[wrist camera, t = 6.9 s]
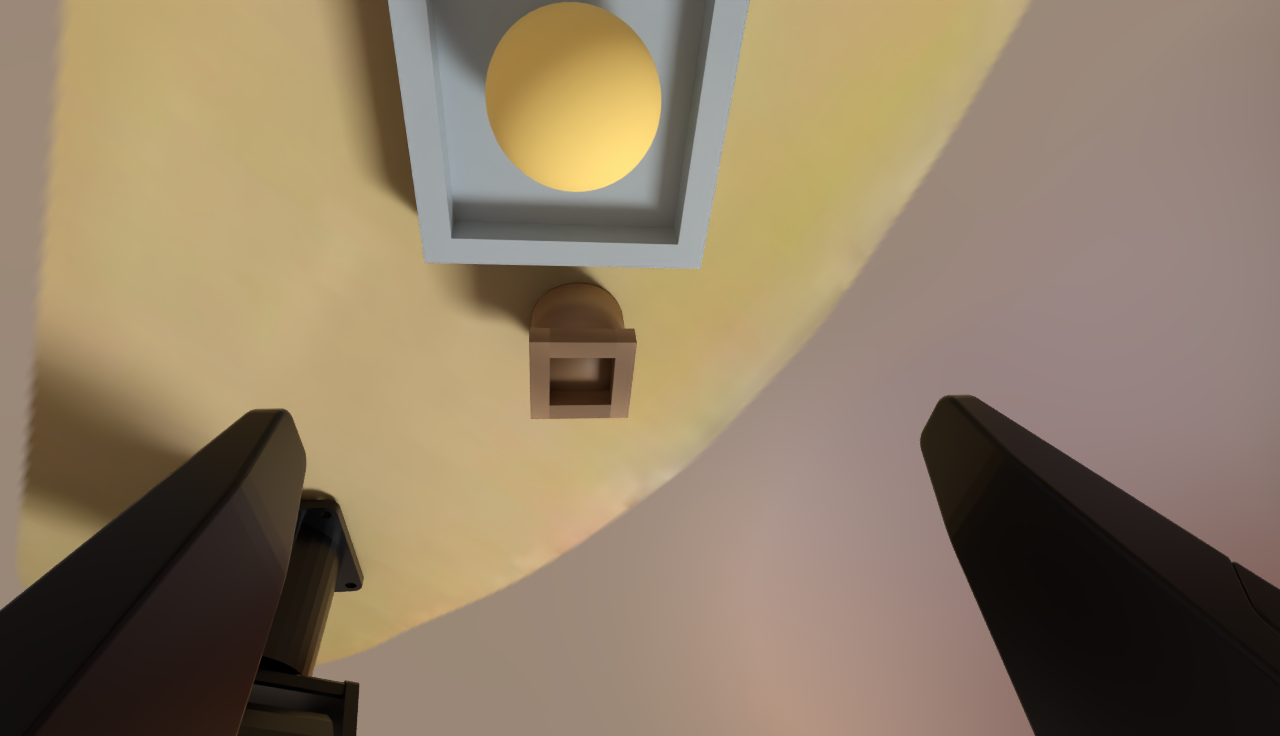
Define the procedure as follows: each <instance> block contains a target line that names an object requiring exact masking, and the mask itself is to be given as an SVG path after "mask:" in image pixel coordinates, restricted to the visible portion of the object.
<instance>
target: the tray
mask: <svg viewBox="0 0 1280 736" xmlns="http://www.w3.org/2000/svg"><path fill="white" fill-rule="evenodd" d="M749 1H750V0H388V5H389V12H390V19H391V26H392V33H393V40H394V48H395V55H396V62H397V69H398V76H399V83H400V90H401V97H402V104H403V112H404V119H405V126H406V133H407V140H408V147H409V154H410V161H411V169H412V176H413V183H414V190H415V197H416V204H417V211H418V218H419V225H420V233H421V240H422V247H423V254H424V261H425V263H454V264H500V265H547V266H593V267H640V268H686V269H701V264H702V258H703V253H704V247H705V242H706V236H707V231H708V225H709V220H710V214H711V209H712V203H713V198H714V193H715V187H716V182H717V176H718V171H719V165H720V160H721V154H722V149H723V143H724V138H725V132H726V127H727V121H728V116H729V110H730V105H731V100H732V94H733V89H734V83H735V78H736V72H737V67H738V61H739V56H740V50H741V45H742V39H743V34H744V28H745V23H746V17H747V12H748V7H749ZM561 2H579V3H586V4H590V5H594V6H597V7H600V8H602V9H604V10H607V11H609V12H611V13H613V14H614V15H616V16H617V17H619V18H620V19H622V20H623V21H624V22H625V23H626V24H628V25H629V26H630V27H631V28H632V29H633V30H634V32H635V33H636V34H637V35H638V36H639V37H640V38H641V40H642V41H643V43H644V44H645V46H646V47H647V49H648V51H649V53H650V55H651V57H652V59H653V61H654V64H655V67H656V70H657V73H658V77H659V82H660V87H661V114H660V119H659V125H658V128H657V132H656V135H655V137H654V139H653V142H652V144H651V146H650V148H649V149H648V151H647V152H646V154H645V156H644V157H643V158H642V160H641V161H640V162H639V164H638V165H637V166H636V167H635V168H634V169H633V170H632V171H631V172H630V173H628V174H627V175H626V176H624V177H623V178H622V179H620V180H618V181H616V182H615V183H613V184H610V185H608V186H606V187H603V188H600V189H596V190H591V191H585V192H570V191H562V190H557V189H553V188H550V187H547V186H544V185H542V184H540V183H538V182H536V181H534V180H533V179H531V178H530V177H528V176H527V175H525V174H524V173H523V172H522V171H521V170H519V169H518V168H517V167H516V166H515V165H514V164H513V163H512V162H511V161H510V160H509V159H508V157H507V156H506V155H505V153H504V152H503V150H502V149H501V147H500V145H499V144H498V142H497V140H496V138H495V136H494V133H493V131H492V128H491V126H490V123H489V119H488V115H487V109H486V101H485V84H486V77H487V71H488V68H489V64H490V61H491V58H492V56H493V54H494V51H495V49H496V47H497V45H498V44H499V42H500V40H501V39H502V37H503V36H504V35H505V33H506V32H507V31H508V30H509V29H510V27H511V26H513V25H514V24H515V23H516V22H517V21H518V20H519V19H521V18H522V17H524V16H525V15H527V14H528V13H530V12H532V11H534V10H536V9H538V8H540V7H543V6H547V5H550V4H554V3H561Z"/></svg>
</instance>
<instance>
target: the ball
mask: <svg viewBox="0 0 1280 736" xmlns="http://www.w3.org/2000/svg"><path fill="white" fill-rule="evenodd" d="M485 101H486V109H487V115H488V119H489V123H490V126H491V128H492V131H493V133H494V136H495V138H496V140H497V142H498V144H499V145H500V147H501V149H502V150H503V152H504V153H505V155H506V156H507V157H508V159H509V160H510V161H511V162H512V163H513V164H514V165H515V166H516V167H517V168H518V169H519V170H521V171H522V172H523V173H524V174H525V175H527V176H528V177H530V178H531V179H533V180H534V181H536V182H538V183H540V184H542V185H544V186H547V187H550V188H553V189H557V190H562V191H570V192H585V191H591V190H596V189H600V188H603V187H606V186H608V185H610V184H613V183H615V182H616V181H618V180H620V179H622V178H623V177H624V176H626V175H627V174H628V173H630V172H631V171H632V170H633V169H634V168H635V167H636V166H637V165H638V164H639V162H640V161H641V160H642V158H643V157H644V156H645V154H646V152H647V151H648V149H649V148H650V146H651V144H652V142H653V139H654V137H655V135H656V132H657V128H658V125H659V119H660V114H661V87H660V82H659V77H658V73H657V70H656V67H655V64H654V61H653V59H652V57H651V55H650V53H649V51H648V49H647V47H646V46H645V44H644V43H643V41H642V40H641V38H640V37H639V36H638V35H637V34H636V33H635V32H634V30H633V29H632V28H631V27H630V26H629V25H628V24H626V23H625V22H624V21H623V20H622V19H620V18H619V17H617V16H616V15H614V14H613V13H611V12H609V11H607V10H604V9H602V8H600V7H597V6H594V5H590V4H586V3H579V2H561V3H554V4H550V5H547V6H543V7H540V8H538V9H536V10H534V11H532V12H530V13H528V14H527V15H525V16H524V17H522V18H521V19H519V20H518V21H517V22H516V23H515V24H514V25H513V26H511V27H510V29H509V30H508V31H507V32H506V33H505V35H504V36H503V37H502V39H501V40H500V42H499V44H498V45H497V47H496V49H495V51H494V54H493V56H492V58H491V61H490V64H489V68H488V71H487V77H486V84H485Z"/></svg>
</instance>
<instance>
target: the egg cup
mask: <svg viewBox="0 0 1280 736" xmlns="http://www.w3.org/2000/svg"><path fill="white" fill-rule="evenodd" d="M636 345H637V341H636V336H635V330H634V329H625V328H624V322H623V315H622V311H621V308H620V306H619V304H618V302H617V301H616V299H615V298H614V297H613V296H612V295H611V294H609V293H608V292H607V291H605V290H603V289H602V288H599V287H597V286H594V285H590V284H584V283H572V284H566V285H562V286H559V287H557V288H554V289H552V290H550V291H549V292H547V293H546V294H545V295H544V296H543V297H541V299H540V300H539V301H538V302H537V304H536V305H535V307H534V310H533V313H532V319H531V328H530V332H529V355H530V404H531V419H569V418H628V412H629V404H630V396H631V387H632V379H633V370H634V362H635V353H636Z"/></svg>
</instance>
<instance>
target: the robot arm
mask: <svg viewBox="0 0 1280 736" xmlns="http://www.w3.org/2000/svg"><path fill="white" fill-rule="evenodd" d="M920 445H921V451H922V454H923V457H924V460H925V463H926V467H927V470H928V473H929V476H930V480H931V483H932V486H933V489H934V492H935V495H936V498H937V502H938V505H939V508H940V511H941V514H942V517H943V521H944V524H945V527H946V530H947V532H948V535H949V538H950V541H951V543H952V545H953V548H954V551H955V553H956V556H957V558H958V560H959V563H960V565H961V567H962V569H963V572H964V574H965V576H966V579H967V581H968V583H969V586H970V588H971V590H972V592H973V595H974V597H975V599H976V601H977V604H978V606H979V608H980V611H981V613H982V615H983V617H984V620H985V622H986V625H987V627H988V629H989V631H990V634H991V636H992V638H993V641H994V643H995V645H996V647H997V650H998V652H999V654H1000V656H1001V659H1002V661H1003V663H1004V666H1005V668H1006V670H1007V673H1008V675H1009V677H1010V679H1011V682H1012V684H1013V686H1014V689H1015V691H1016V693H1017V696H1018V698H1019V700H1020V702H1021V704H1022V707H1023V709H1024V712H1025V714H1026V716H1027V718H1028V721H1029V723H1030V725H1031V728H1032V730H1033V732H1034V735H1035V736H1280V589H1278V588H1277V587H1275V586H1274V585H1272V584H1270V583H1268V582H1267V581H1265V580H1264V579H1262V578H1261V577H1259V576H1258V575H1256V574H1255V573H1253V572H1251V571H1250V570H1248V569H1247V568H1245V567H1243V566H1242V565H1240V564H1239V563H1237V562H1231V560H1230V559H1229V557H1228V556H1226V555H1224V554H1223V553H1221V552H1220V551H1218V550H1216V549H1215V548H1213V547H1212V546H1210V545H1209V544H1207V543H1205V542H1204V541H1202V540H1201V539H1199V538H1197V537H1196V536H1194V535H1193V534H1191V533H1190V532H1188V531H1186V530H1185V529H1183V528H1182V527H1180V526H1178V525H1177V524H1175V523H1173V522H1172V521H1171V520H1169V519H1167V518H1166V517H1164V516H1163V515H1161V514H1160V513H1158V512H1156V511H1155V510H1153V509H1152V508H1150V507H1148V506H1147V505H1145V504H1144V503H1142V502H1141V501H1139V500H1137V499H1136V498H1134V497H1133V496H1131V495H1130V494H1128V493H1126V492H1125V491H1123V490H1122V489H1120V488H1118V487H1117V486H1115V485H1114V484H1112V483H1111V482H1109V481H1107V480H1106V479H1104V478H1103V477H1101V476H1099V475H1098V474H1096V473H1094V472H1093V471H1091V470H1090V469H1088V468H1087V467H1085V466H1084V465H1082V464H1081V463H1079V462H1077V461H1076V460H1074V459H1072V458H1071V457H1069V456H1068V455H1066V454H1065V453H1063V452H1062V451H1060V450H1058V449H1057V448H1055V447H1054V446H1052V445H1050V444H1049V443H1047V442H1046V441H1044V440H1042V439H1041V438H1039V437H1038V436H1036V435H1035V434H1033V433H1032V432H1030V431H1028V430H1027V429H1025V428H1024V427H1022V426H1020V425H1019V424H1017V423H1016V422H1014V421H1013V420H1011V419H1009V418H1008V417H1006V416H1005V415H1003V414H1001V413H1000V412H998V411H997V410H995V409H994V408H992V407H990V406H989V405H987V404H986V403H984V402H983V401H981V400H979V399H978V398H976V397H974V396H971V395H947V396H944V397H942V398H941V399H940V400H939V401H938V403H937V405H936V407H935V408H934V410H933V412H932V414H931V416H930V418H929V420H928V422H927V423H926V425H925V427H924V429H923V431H922V433H921V438H920ZM305 472H306V453H305V450H304V447H303V444H302V442H301V439H300V436H299V434H298V431H297V428H296V426H295V423H294V420H293V418H292V416H291V414H290V413H289V412H288V411H287V410H285V409H254V410H251V411H249V412H247V413H246V414H245V415H243V416H242V417H241V418H240V419H238V420H237V421H236V422H235V423H233V424H232V425H231V426H230V427H228V428H227V429H226V430H225V431H223V432H222V433H221V434H220V435H218V436H217V437H216V438H215V439H213V440H212V441H211V442H210V443H208V444H207V445H206V446H205V447H203V448H202V449H201V450H200V451H198V452H197V453H196V454H195V455H193V456H192V457H191V458H190V459H188V460H187V461H186V462H185V463H183V464H182V465H181V466H180V467H178V468H177V469H176V470H175V471H173V472H172V473H171V474H170V475H168V476H167V477H166V478H165V479H163V480H162V481H161V482H160V483H158V484H157V485H156V486H155V487H153V488H152V489H151V490H150V491H148V492H147V493H146V494H145V495H143V496H142V497H141V498H140V499H138V500H137V501H136V502H135V503H133V504H132V505H131V506H130V507H128V508H127V509H126V510H125V511H123V512H122V513H121V514H120V515H118V516H117V517H116V518H115V519H113V520H112V521H111V522H110V523H109V524H107V525H106V526H105V527H104V528H102V529H101V530H100V531H99V532H97V533H96V534H95V535H94V536H92V537H91V538H90V539H89V540H87V541H86V542H85V543H84V544H82V545H81V546H80V547H79V548H77V549H76V550H75V551H74V552H72V553H71V554H70V555H69V556H67V557H66V558H65V559H64V560H62V561H61V562H60V563H59V564H57V565H56V566H55V567H54V568H52V569H51V570H50V571H49V572H47V573H46V574H45V575H44V576H42V577H41V578H40V579H39V580H37V581H36V582H35V583H34V584H32V585H31V586H30V587H29V588H27V589H26V590H25V591H24V592H22V593H21V594H20V595H19V596H17V597H16V598H15V599H14V600H12V601H11V602H10V603H9V604H8V605H6V606H5V607H4V608H3V609H1V610H0V736H356V729H357V713H358V698H359V683H357V682H352V681H344V682H338V681H332V680H327V679H321V678H316V677H312V674H313V670H314V667H315V663H316V659H317V655H318V652H319V648H320V644H321V640H322V637H323V633H324V629H325V625H326V622H327V618H328V614H329V610H330V607H331V603H332V599H333V595H334V592H345V591H357V590H359V589H361V588H362V585H363V580H364V577H363V574H362V571H361V568H360V565H359V562H358V559H357V556H356V553H355V550H354V547H353V544H352V541H351V538H350V535H349V532H348V529H347V526H346V523H345V520H344V517H343V514H342V511H341V508H340V506H339V504H338V503H336V502H334V501H331V500H301V501H300V499H301V494H302V488H303V483H304V477H305Z"/></svg>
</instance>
